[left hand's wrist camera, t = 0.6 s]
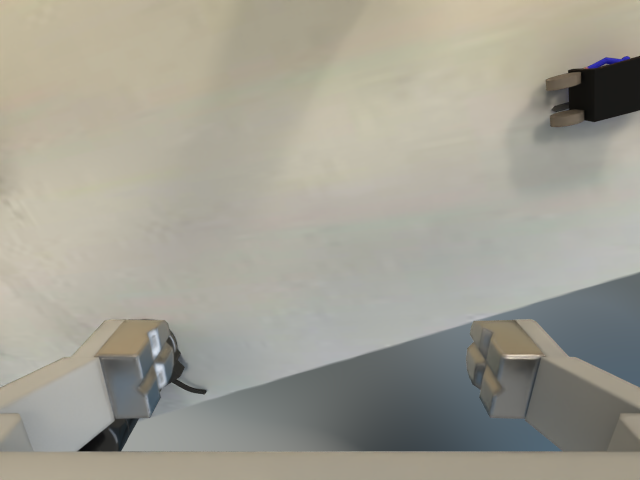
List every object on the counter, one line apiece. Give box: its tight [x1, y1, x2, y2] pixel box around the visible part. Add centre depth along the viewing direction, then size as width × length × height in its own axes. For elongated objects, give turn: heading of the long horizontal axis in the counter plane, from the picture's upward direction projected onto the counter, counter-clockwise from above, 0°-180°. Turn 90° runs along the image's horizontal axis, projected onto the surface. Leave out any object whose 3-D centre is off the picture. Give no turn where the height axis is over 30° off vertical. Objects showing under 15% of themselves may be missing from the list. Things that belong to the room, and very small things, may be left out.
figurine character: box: [546, 56, 640, 127], centre depth 47 cm, size 7×8×15 cm
